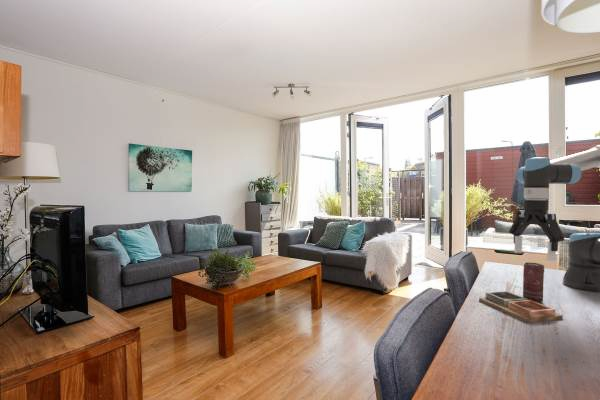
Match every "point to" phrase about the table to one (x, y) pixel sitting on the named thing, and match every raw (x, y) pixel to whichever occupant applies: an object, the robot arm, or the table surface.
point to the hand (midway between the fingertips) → (533, 256)
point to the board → (520, 307)
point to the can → (533, 282)
